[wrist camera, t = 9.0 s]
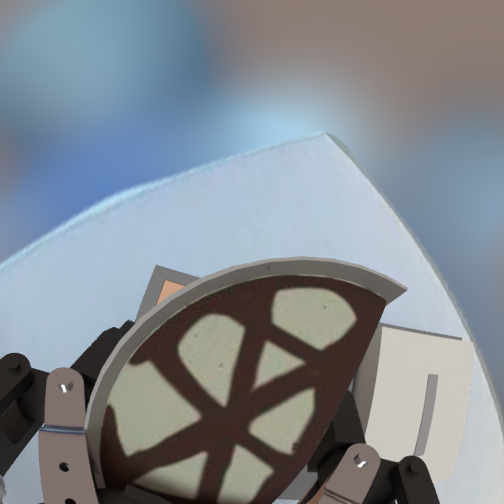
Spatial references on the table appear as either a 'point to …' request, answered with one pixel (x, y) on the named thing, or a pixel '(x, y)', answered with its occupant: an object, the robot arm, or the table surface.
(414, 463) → the robot arm
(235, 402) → the food container
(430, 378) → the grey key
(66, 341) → the table surface
